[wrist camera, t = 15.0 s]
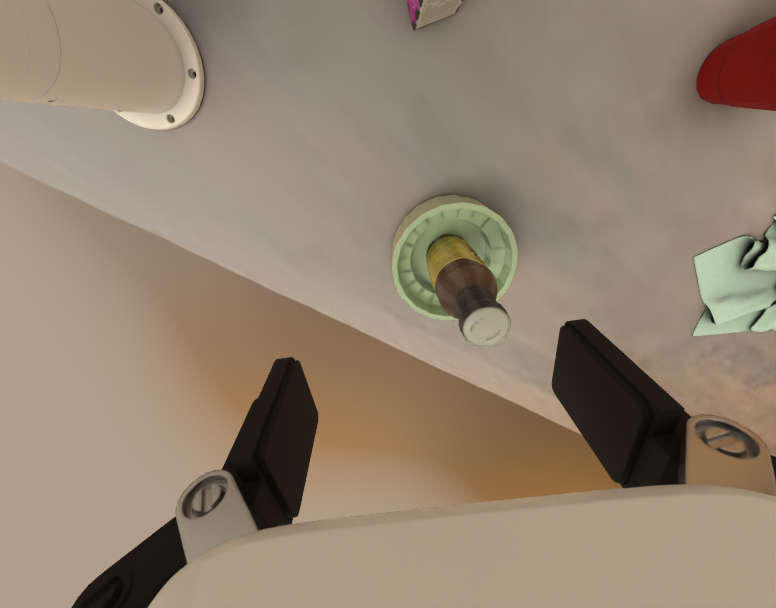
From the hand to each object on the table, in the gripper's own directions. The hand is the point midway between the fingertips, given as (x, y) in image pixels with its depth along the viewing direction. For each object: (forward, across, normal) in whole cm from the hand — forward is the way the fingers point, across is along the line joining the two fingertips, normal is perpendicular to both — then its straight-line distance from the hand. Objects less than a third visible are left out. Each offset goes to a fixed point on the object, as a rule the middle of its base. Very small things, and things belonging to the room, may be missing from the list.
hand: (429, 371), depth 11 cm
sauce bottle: (+33, -6, +8) cm, 34 cm away
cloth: (+32, -52, +19) cm, 64 cm away
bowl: (+33, -6, +8) cm, 35 cm away
